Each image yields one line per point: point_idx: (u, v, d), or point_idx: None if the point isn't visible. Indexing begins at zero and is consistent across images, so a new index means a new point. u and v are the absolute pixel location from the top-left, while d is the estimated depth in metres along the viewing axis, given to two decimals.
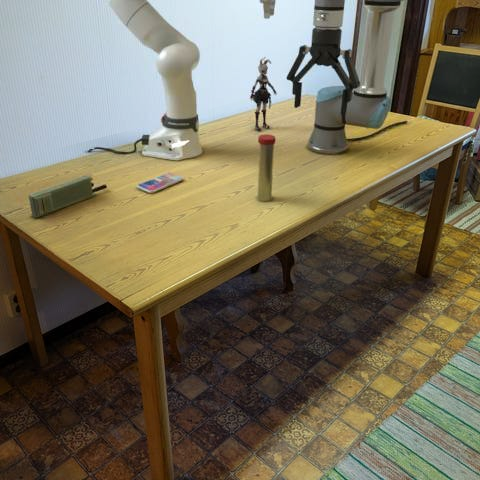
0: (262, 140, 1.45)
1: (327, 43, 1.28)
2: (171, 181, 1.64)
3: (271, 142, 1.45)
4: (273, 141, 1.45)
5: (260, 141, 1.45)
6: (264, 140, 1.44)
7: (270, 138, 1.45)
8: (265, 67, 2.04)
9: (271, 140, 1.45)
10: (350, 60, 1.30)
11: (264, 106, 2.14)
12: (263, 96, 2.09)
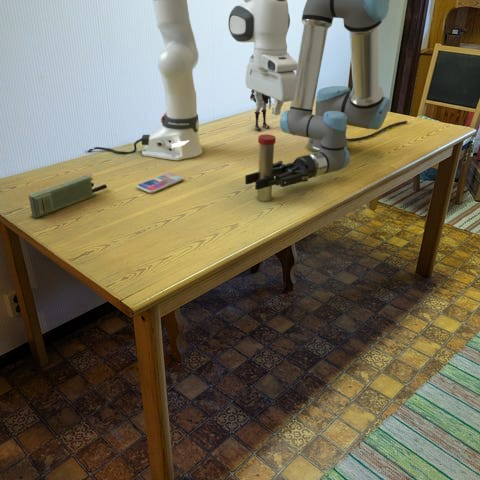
0: (262, 140, 1.45)
1: None
2: (171, 181, 1.64)
3: (271, 142, 1.45)
4: (273, 141, 1.45)
5: (260, 141, 1.45)
6: (264, 140, 1.44)
7: (270, 138, 1.45)
8: None
9: (271, 140, 1.45)
10: None
11: (264, 106, 2.14)
12: (263, 96, 2.09)
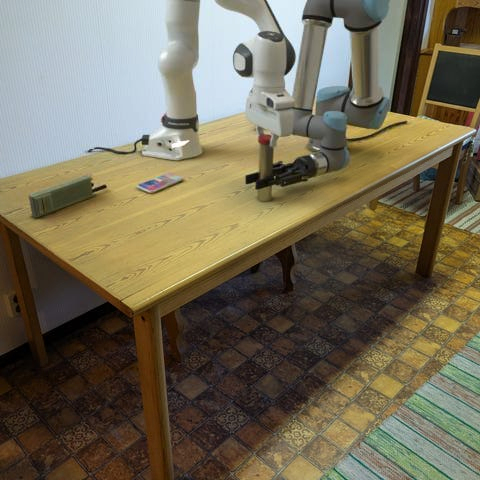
0: (262, 140, 1.45)
1: None
2: (171, 181, 1.64)
3: None
4: None
5: (260, 141, 1.45)
6: (264, 140, 1.44)
7: (270, 138, 1.45)
8: None
9: None
10: None
11: None
12: None
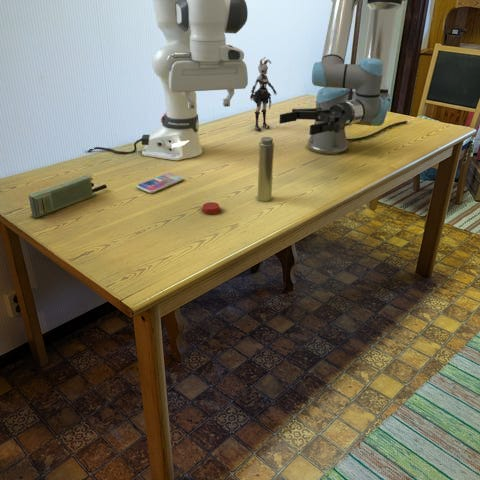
0: None
1: None
2: (171, 181, 1.64)
3: None
4: None
5: None
6: None
7: (210, 203, 1.48)
8: (265, 67, 2.04)
9: None
10: None
11: (264, 106, 2.14)
12: (263, 96, 2.09)
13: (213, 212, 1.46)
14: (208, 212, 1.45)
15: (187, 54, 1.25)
